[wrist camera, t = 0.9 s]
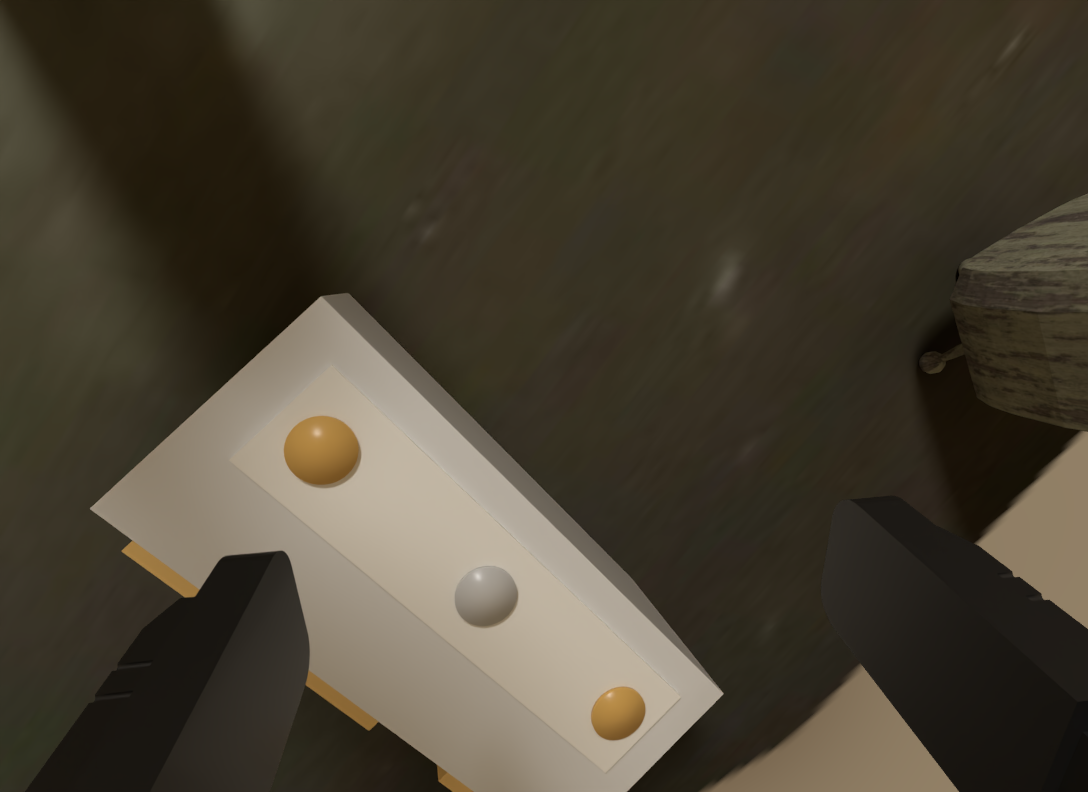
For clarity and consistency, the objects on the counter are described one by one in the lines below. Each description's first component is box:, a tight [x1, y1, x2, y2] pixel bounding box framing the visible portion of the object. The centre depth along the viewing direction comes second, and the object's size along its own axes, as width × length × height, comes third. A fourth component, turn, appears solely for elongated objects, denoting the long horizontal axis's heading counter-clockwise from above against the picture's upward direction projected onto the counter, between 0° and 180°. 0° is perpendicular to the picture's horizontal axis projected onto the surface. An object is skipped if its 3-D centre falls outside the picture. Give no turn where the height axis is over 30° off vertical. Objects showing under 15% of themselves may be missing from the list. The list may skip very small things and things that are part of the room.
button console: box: [90, 293, 723, 792], centre depth 30 cm, size 26×11×12 cm, turn 42°
